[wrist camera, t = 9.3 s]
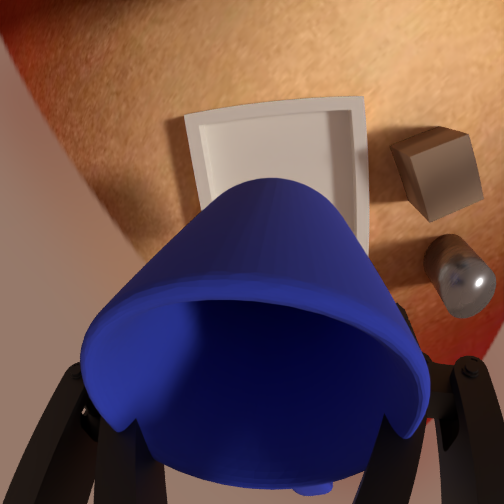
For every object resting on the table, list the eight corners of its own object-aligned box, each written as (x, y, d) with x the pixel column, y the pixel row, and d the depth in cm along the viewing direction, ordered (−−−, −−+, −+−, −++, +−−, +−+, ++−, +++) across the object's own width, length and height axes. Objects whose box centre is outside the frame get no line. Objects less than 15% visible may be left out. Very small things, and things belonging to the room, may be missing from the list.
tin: (426, 235, 25) (452, 268, 20) (470, 232, 24) (501, 263, 19) (420, 282, 27) (440, 321, 22) (462, 278, 26) (487, 314, 21)
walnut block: (389, 145, 22) (409, 156, 18) (439, 126, 21) (468, 134, 16) (408, 200, 24) (429, 222, 20) (455, 180, 23) (483, 199, 18)
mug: (251, 369, 19) (226, 516, 10) (163, 191, 14) (19, 323, 6) (380, 340, 17) (414, 497, 8) (333, 132, 12) (430, 213, 4)
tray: (192, 113, 23) (183, 115, 21) (358, 96, 21) (363, 96, 19) (226, 294, 31) (222, 307, 29) (362, 287, 28) (365, 300, 27)
